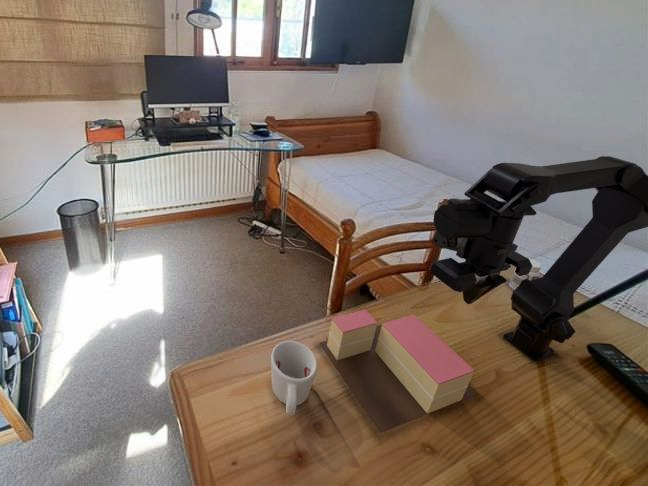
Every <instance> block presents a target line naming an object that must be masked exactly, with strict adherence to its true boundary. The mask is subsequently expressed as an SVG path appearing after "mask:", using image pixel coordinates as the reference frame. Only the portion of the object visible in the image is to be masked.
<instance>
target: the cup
mask: <svg viewBox="0 0 648 486" xmlns="http://www.w3.org/2000/svg"><path fill="white" fill-rule="evenodd" d="M270 355H271V356H270V375H271V378H270V379H271V388H272V392H273V393H274V395H275V397H276V398H277V400H279V401H280V402H281V403H283V404H285V413H286V415H287V416H291V417H292V416H295V414H296V411H297V406H299V405H302V404H303V403H304V402H305V401H306V400H307V399H308V396H309V394H310V392H311V389H312V387H313V383H314V381H315V378H316V375H317V372H318V361H317V358H316V355H315V354H314V352H313V351H312V349H310V348H309V347H308V346H306V345H305V344H303V343H301V342H300V341H295V340H285V341H282V342H279V343H277V344H276V345H275V346H274V347H273V348H272V351H271V354H270Z"/></svg>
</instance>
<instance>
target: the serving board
mask: <svg viewBox="0 0 648 486" xmlns="http://www.w3.org/2000/svg"><path fill="white" fill-rule="evenodd" d="M381 327H382V324H381V325H380V324H379V325H377V327H376V330H375V334H374V338H373V342H372V346H371V349H370V350H369V351H366V352H363V353H359V354H356V355H353V356H350V357H346V358H343V359H340V360H337V359H336V358H335V356H334V355H333V354H332V352H331V351H330V349H329V348H328V346H327V342H328V339H327V340H323V341H320V342H318V344H319V346H320V347H321V349H322V350H323V352H324V354H325V355H326V356H327V358H328V360H329V361H330V362H331V364H332V365H333V366H334V368H335V369H336V371H337V373H338V374H339V375H340V377H341V378H342V380H343V381H344V383H345V384H346V386H347V387H348V389H349V390H350V392H351V393H352V394H353V396H354V397H355V399H356V400H357V402H358V403H359V405H360V406H361V408H362V409H363V411H364V412H365V413H366V415H367V417H368V418H369V420H370V421H371V422H372V424H373V426H374V428H376V430H377V431H378V433H379V434H381V433H384V432H386V431H388V430H391V429H394V428H396V427H398V426H401V425H403V424H406V423H409V422H411V421H414V420H416V419H418V418H422V417H424V416H426V415H428V414H431V413H434V412H436V411H437V410H435V411H433V412H430V413H428V414H427V413H426V412H425V410H424V409H423V408H422V407H421V406H420V404H419V403H418V402H417V401H416V400H415V398H414V397H413V396H412V395H411V394H410V392H409V391H408V390H407V389H406V388H405V386H404V385H403V384H402V383H401V382H400V380H399V379H398V378H397V377H396V376H395V374H394V373H393V372H392V371H391V370H390V368H389V367H388V366H387V365H386V364H385V363H384V361H383V360H382V359H381V358H380V357H379V355H378V354H377V353H376V352H375V349H376V345H377V341H378V337H379V334H380V330H381ZM477 394H478V392H477V391H476V390H475V388H473V387H472V386H471V385H469V384H468V387H467V389H466V391H465V393H464V395H463V398H462V400H460V401H463V400H465V399H468V398H471V397H473V396H476V395H477ZM460 401H459V402H460ZM456 403H457V402H455V403H454V404H456ZM451 405H452V404H450V405H449V406H451ZM446 407H447V406H445V407H444V408H446ZM441 409H442V408H440V409H439V410H441Z"/></svg>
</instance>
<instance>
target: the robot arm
mask: <svg viewBox="0 0 648 486" xmlns="http://www.w3.org/2000/svg"><path fill="white" fill-rule="evenodd" d="M590 189H591V190H592V189H595V190H596V192H597V193H596V194H595V195H594V197H593V199H592V200H591V210H592V211H591V213H592V216H591V218H590V220H589V221H588V222H587V224H586V225H585V226H583V228H582V229H581V230H580V232H579V233H578V234H577V235H576V236H575V237H574V239H573V240H572V241H571V242H570V244H569V245H568V246H567V247H566V248H565V250H564V251H563V252H562V253H561V254H560V256H559V257H558V258H557V259H556V260H555V262H554V263H553V264H551V266H550V267H549V269H548V270H547V271H546V272H545V273H544V275H542V276H541V277H540V276H539V278H537V279H533V280H529V279H524V280H522V282H521V283H520V285H519V286H518V287H517V288H516V289H515V290H514V289H513V290H512V294H511V296H510V301H511V310H512V311H514V312H516V314H518V315H519V316H520V318H519V319H518V322H517V323H516V325H515V328H514V330H513V331H510V332H507V333H504V334H503V335H502V337H503V338H504V339H505V340H506V341H507V342H509V343H510V344H511V345H512V346H514V347H515V348H517V349H518V350H519V351H520V352H522V353H523V354H525V356H527V357H528V358H529V359H531V360H532V361H535V362H537V361H540V360H542V359H544V358H547V357H550V356H552V355H555V352H556V350H555V349H553V348H552V347H550V346H551V344H552V342H553V341H554V342H557V343H560V344H564V342H565V341H566V340H569V339H571V338H572V337H573V335H575V333H576V330H575V328H574V327H573V325H572V324H571V322H570V321H569V320H568V319H569V318H570V317H571V316H572V314H573V313H574V311H575V302H574V300H575V299H574V297H575V296H574V294H575V293H576V292H577V290H579V289H580V287H582V285H583V284H584V283H585V282H586V281H587V279H589V277H590V276H591V275H592V273H594V272H595V271H596V269H598V267H599V266H600V265H601V263H602V262H603V261H604V260H605V259H606V258H607V257H608V256H609V255H610V253H612V252H613V250H614V249H615V248H616V247H617V246H618V245H619V244H620V243H621V241H622V240H623V239H624V238H625V237H626V236H627V235H628V234H629V233H632V232H635V231H639V230H643V229H646V228H648V175H647V174H646V171H644V169H643V168H642V167H641V166H639V165H638V164H637V163H634V162H631V161H628V160H624V159H621V158H617V157H614V156H611V155H606V156H604V155H601V156H599V157H597V158H593V159H587V160H586V159H585V160H578V161H571V162H563V163H556V164H549V165H530V164H525V163H519V162H500V163H496V164H494V165H493V166H492V167H491V168H490V169H489V170H488V171H486V172H485V173H484V174H483V175H482V176H481V177H480V178H479V179H478V180H477V181H475V183H474V184H472V185H471V186H470V187H469V188H468V189H467V190H465V192H464V194H463V195H464V196H465V197H467V198H468V199H467V198H464V199H463V198H462V199H460V198H449V199H448V201H447V204H442V205H440V206H438V208H437V209H436V210H435V211H434V214H433V225H434V228H435V230H436V231H435V233H434V235H433V237H432V240H433V244H434V245H435V246H436V247H438V248H439V249H443V250H444V249H445V250H449V251H453V252H456V253H455V256H457V257H458V258H460V259H463V260H464V261H462V262H458V261H457V260H455V259H454V258H452V257H447V258H442V259H438V260H435V261H434V260H433V261H431V263H430V267H429V274H431V275H432V276H433V277H435V278H437V280H439V281H441V282H442V283H443V284H445V285H446V286H447V287H449V288H450V289H451V290H453V291H454V292H457V293H462V299H463V302H464V303H465V304H466V305H471V304H473V303H475V302H476V301H478V300H480V299H481V298H482V297H485V295H487V294H489V293H490V292H491V291H493V290H494V289H496V288H498V287H499V286H501V285H502V284H505V283H506V282H507V278H506V277H504V276H502V275H500V274H501V272H504V271H508V270H509V269H510V268H512V267H515V269H516V270H515V269H514V271H515V273H516V274H517V275H518V276H523V275H526V274H529V272H530V270H531V268H532V264H531V262H530V260H529V259H530V258H529V257H526V256H524V255H523V254H521V253H519V252H517V249H518V247H519V245H517V244H516V243H514V241H515V239H516V236H517V234H518V231H519V229H520V226H521V225H522V222H523V220H524V217H527V216H529V217H531V216H536V215H537V211H536V210H535V209H534V208H533V207H532V206H535V205H539V204H544V203H546V202H547V201H548V200H549V198H550V197H551V196H553V195H556V194H563V193H569V192H577V191H584V190H590ZM486 192H488V193H490V194H491V195H494V196H495V197H498V198H499V199H501V200H498V199H497V198H495V197H493V196H491V195H489V194H487V193H486ZM528 258H529V259H528Z"/></svg>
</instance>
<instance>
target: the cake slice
mask: <svg viewBox="0 0 648 486" xmlns="http://www.w3.org/2000/svg"><path fill="white" fill-rule="evenodd" d="M377 326H378V322H377V320H376V319H375V318H374V316H372V315H371V314H370V313H369V311H367V309H362V310H357V311H353V312H350V313H346V314H342V315H338V316H334V317H332V318H331V322H330V327H329V331H328V338H327V340H328V342H327V346H328V348H329V349H330V351H331V352H332V354H333V355H334V356H335V358H336V359H337V360H340V359H343V358H346V357H350V356H353V355H356V354H359V353H363V352H366V351H369V350H370V349H371V346H372V342H373V338H374V334H375V330H376V327H377Z"/></svg>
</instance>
